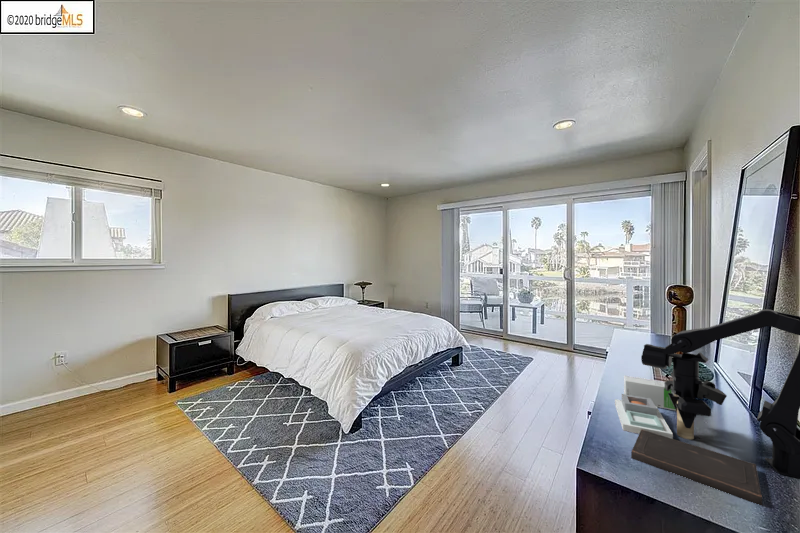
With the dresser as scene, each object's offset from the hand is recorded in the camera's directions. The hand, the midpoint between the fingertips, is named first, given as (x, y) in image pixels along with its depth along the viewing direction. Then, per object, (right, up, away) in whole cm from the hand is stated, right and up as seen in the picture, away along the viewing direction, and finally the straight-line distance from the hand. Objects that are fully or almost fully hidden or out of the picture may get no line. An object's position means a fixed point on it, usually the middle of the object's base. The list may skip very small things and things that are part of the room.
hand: (685, 424), depth 93 cm
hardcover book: (-10, -5, -13) cm, 17 cm away
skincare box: (+14, +1, +17) cm, 22 cm away
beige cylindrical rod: (0, -4, 0) cm, 4 cm away
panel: (-6, -3, +9) cm, 12 cm away
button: (-4, 0, +13) cm, 13 cm away
